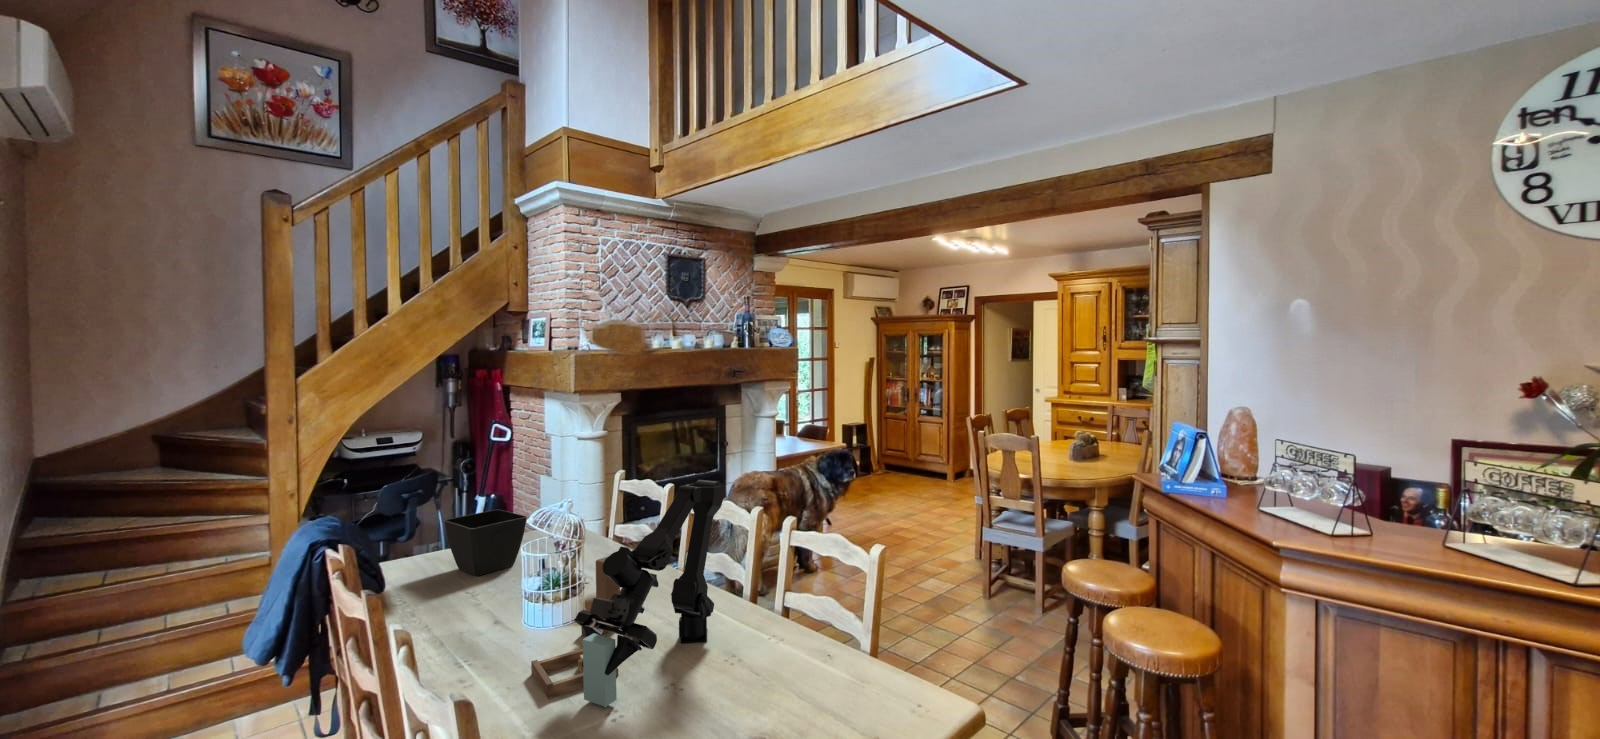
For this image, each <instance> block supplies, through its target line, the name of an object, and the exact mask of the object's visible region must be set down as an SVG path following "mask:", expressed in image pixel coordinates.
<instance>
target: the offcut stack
mask: <svg viewBox="0 0 1600 739" xmlns="http://www.w3.org/2000/svg"><path fill="white" fill-rule="evenodd" d="M582 660H583V655H580V660H578V663H577V670H579V672H580V674H581V673H583V667H582Z"/></svg>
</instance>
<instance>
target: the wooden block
mask: <svg viewBox="0 0 1600 739" xmlns="http://www.w3.org/2000/svg"><path fill="white" fill-rule="evenodd" d="M609 556H610V555H608V556H606V557H601V558H599V559H596V560H595V595H596V596H595V598H601V599H608V600H610V599H611V597H612V596H613V595H614V594H617V595H618V594H619V592H620V591H621V587H619V586H618V585H617V584H616V583H614V582H613V581H612V580H611V579H610V578H609V577H608V576H607V575H606V574H605V573H604V572H603V563H604V561H605V559H606V558H608V557H609ZM598 616H599V615H598ZM601 618H602V617H601ZM602 619H604V618H602ZM604 620H606V619H604ZM580 627H581V628H580V629H581V635H582V636H585V637H586V634H585V630H584V629H582V626H580ZM611 628H613V627H611ZM606 633H609V632H608V631H603V633H602V635H603V634H606Z"/></svg>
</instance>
